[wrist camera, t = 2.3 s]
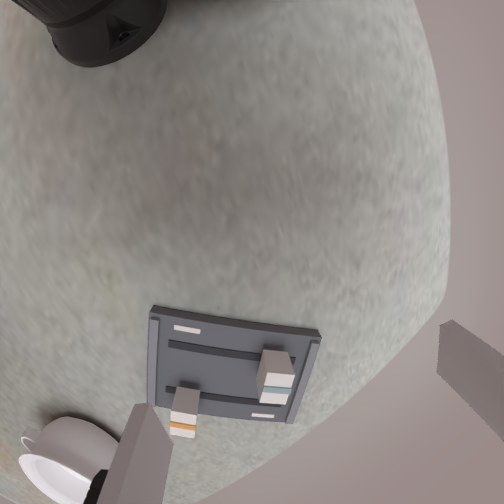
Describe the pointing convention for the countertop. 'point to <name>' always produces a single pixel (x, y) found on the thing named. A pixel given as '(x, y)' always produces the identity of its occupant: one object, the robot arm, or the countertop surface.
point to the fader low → (184, 412)
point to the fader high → (274, 377)
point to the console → (223, 363)
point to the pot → (66, 457)
